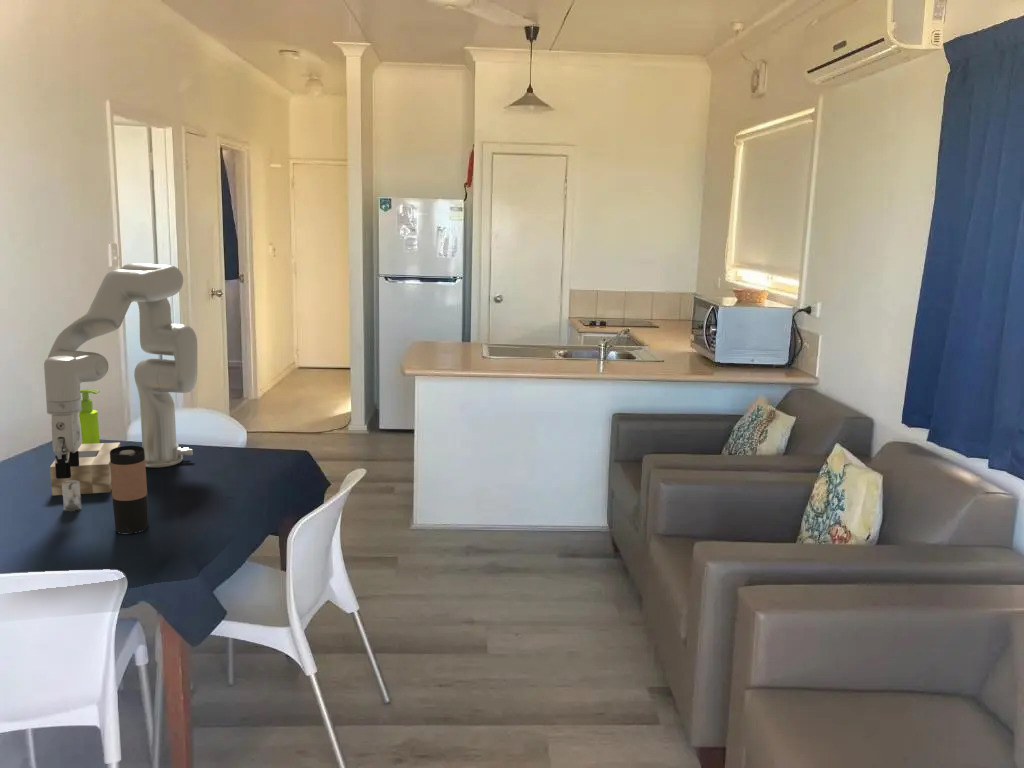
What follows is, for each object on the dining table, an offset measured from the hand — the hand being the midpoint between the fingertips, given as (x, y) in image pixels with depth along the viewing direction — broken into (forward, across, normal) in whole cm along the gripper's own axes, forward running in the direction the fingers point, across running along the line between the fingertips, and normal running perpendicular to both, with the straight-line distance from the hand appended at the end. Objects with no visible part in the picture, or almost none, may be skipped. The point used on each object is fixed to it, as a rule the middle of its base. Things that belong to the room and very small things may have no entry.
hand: (68, 472), depth 205 cm
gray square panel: (+2, +22, 0) cm, 22 cm away
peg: (+10, +1, 0) cm, 10 cm away
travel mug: (+11, -15, -16) cm, 25 cm away
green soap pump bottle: (+9, +49, +4) cm, 50 cm away
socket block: (+10, +22, 0) cm, 24 cm away
